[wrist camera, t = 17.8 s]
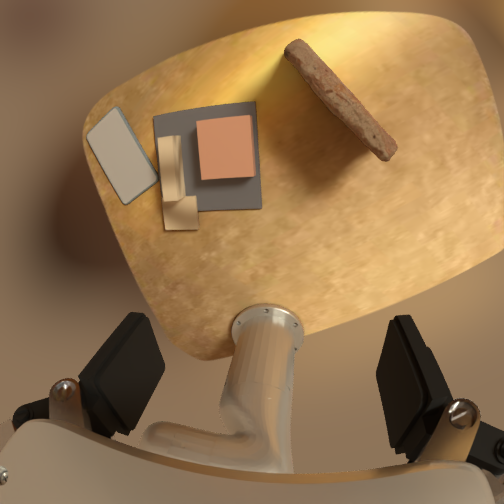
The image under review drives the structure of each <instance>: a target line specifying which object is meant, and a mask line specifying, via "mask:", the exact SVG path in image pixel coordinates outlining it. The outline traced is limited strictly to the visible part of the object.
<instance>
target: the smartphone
mask: <svg viewBox="0 0 504 504" xmlns="http://www.w3.org/2000/svg"><path fill="white" fill-rule="evenodd" d="M87 140H88V142H89V144H90V146H91V148H92V150H93V152H94V154H95V156H96V157H97V159H98V161H99V163H100V165H101V167H102V168H103V170H104V172H105V174H106V175H107V177H108V179H109V181H110V183H111V184H112V186H113V188H114V189H115V191H116V193H117V194H118V196H119V198H120V200H121V201H122V203H123V204H125V205H128V204H129V203H131V202H132V201H133V200H134V199H136V198H137V197H138V196H140V195H141V194H142V193H143V192H145V191H146V190H147V189H149V188H150V187H152V186H153V185H154V184H156V183H157V182H158V181H159V175H158V174H157V172H156V170H155V168H154V167H153V165H152V163H151V162H150V160H149V158H148V157H147V155H146V153H145V151H144V150H143V148H142V146H141V144H140V143H139V141H138V139H137V138H136V136H135V134H134V132H133V131H132V129H131V127H130V125H129V124H128V122H127V120H126V118H125V116H124V115H123V113H122V111H121V109H120V108H119V107H114V108H112V109H111V110H110V111H109V112H108V113H107V114H106V115H105V116H104V117H103V118H102V119H101V120H100V121H99V122H98V123H97V124H96V125H95V126H94V127H93V128H92V129H91V130H90V131H89V132H88V134H87Z"/></svg>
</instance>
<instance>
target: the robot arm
mask: <svg viewBox="0 0 504 504" xmlns="http://www.w3.org/2000/svg"><path fill="white" fill-rule="evenodd" d="M231 333H232V338H233V341H234V343H235V345H236V348H235V351H234V355H233V358H232V362H231V365H230V368H229V372H228V375H227V379H226V382H225V385H224V389H223V392H222V395H221V399H220V403H219V414H220V418H221V421H222V423H223V425H224V427H225V429H226V431H227V432H228V434H229V435H227V434H221V433H220V434H219V433H214V432H209V431H205V430H201V429H196V428H193V427H189V426H185V425H181V424H176V423H172V422H165V421H160V422H155V423H153V424H151V425H149V426H148V427H147V428H146V430H145V431H144V432H143V435H142V436H141V438H140V441H139V445H138V448H135V447H132V446H129V445H126V444H123V443H120V442H118V441H116V440H115V436H114V434H115V432H116V431H117V432H118V433H121V434H124V435H127V436H128V435H129V433H130V431H131V430H134V429H135V427H136V425H137V423H138V421H139V419H140V417H141V415H142V413H143V411H144V409H145V407H146V406H147V404H148V402H149V399H150V398H151V396H152V394H153V392H154V390H155V388H156V386H157V384H158V382H159V380H160V379H161V376H162V375H163V373H164V371H165V363H164V360H163V358H162V355H161V352H160V350H159V347H158V344H157V341H156V338H155V335H154V333H153V330H152V327H151V324H150V321H149V318H148V317H146V316H145V315H144V314H143V313H136V312H130V313H129V314H128V315H127V316H126V318H125V319H124V320H123V321H122V322H121V323H120V325H119V326H118V327H117V328H116V329H115V331H114V332H113V333H112V334H111V335H110V337H109V338H108V339H107V340H106V342H105V343H104V344H103V345H102V346H101V348H100V349H99V350H98V351H97V353H96V354H95V355H94V356H93V358H92V359H91V360H90V362H89V363H88V364H87V366H86V367H85V368H84V369H83V371H82V372H81V373H80V374H79V376H78V377H79V379H80V381H79V383H78V382H77V381H76V380H74V379H72V378H65V379H61V380H59V381H58V382H56V383H55V384H54V385H53V386H52V388H51V389H50V393H49V397H48V398H45V399H42V400H38V401H35V402H32V403H28V404H25V405H23V406H21V407H19V408H18V409H17V410H16V411H15V413H14V415H13V421H12V420H11V419H9V420H7V421H5V422H3V423H2V424H0V504H504V431H502V430H500V429H497V428H495V427H493V426H491V425H489V424H486V423H484V422H482V421H480V419H481V414H480V410H479V408H478V406H477V405H476V404H475V403H474V402H473V401H471V400H469V399H465V398H457V399H455V400H453V398H452V395H451V393H450V390H449V388H448V386H447V383H446V381H445V379H444V376H443V374H442V372H441V370H440V368H439V365H438V363H437V361H436V359H435V357H434V355H433V353H432V351H431V349H430V348H429V347H426V345H425V343H424V341H423V339H422V337H421V335H420V333H419V331H418V329H417V327H416V325H415V323H414V321H413V319H412V317H411V316H410V315H398V316H395V317H394V320H390V322H389V326H388V330H387V334H386V338H385V342H384V345H383V349H382V353H381V356H380V360H379V363H378V367H377V370H376V379H377V383H378V387H379V392H380V396H381V401H382V406H383V410H384V415H385V420H386V425H387V431H388V436H389V442H390V446H391V448H395V453H396V454H401V453H405V454H406V458H407V459H408V460H407V461H406V463H405V464H402V465H395V466H389V467H383V468H376V469H368V470H359V471H348V472H336V473H317V474H294V469H293V461H292V452H291V437H290V436H291V434H290V433H291V432H290V431H291V429H290V428H291V409H292V394H293V375H294V354H295V353H296V352H297V351H298V350H299V348H300V347H301V346H302V343H303V340H304V329H303V325H302V323H301V321H300V320H299V318H298V317H297V316H296V315H295V314H294V313H293V312H291V311H290V310H288V309H286V308H284V307H281V306H278V305H273V304H258V305H254V306H251V307H248V308H246V309H244V310H243V311H242V312H240V313H239V314H238V316H237V317H236V318H235V320H234V322H233V326H232V331H231Z"/></svg>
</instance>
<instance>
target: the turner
mask: <svg viewBox="0 0 504 504" xmlns="http://www.w3.org/2000/svg"><path fill="white" fill-rule="evenodd" d="M158 151H159V162H160V173H161V182H162V191H163V198H161V201H162V208H163V216H164V223H165V230H195V229H200V227H199V218H198V208H197V198H196V196H186V193H185V183H184V172H183V161H182V148H181V136H167V137H160V138H158Z"/></svg>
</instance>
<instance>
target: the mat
mask: <svg viewBox="0 0 504 504" xmlns="http://www.w3.org/2000/svg"><path fill="white" fill-rule="evenodd" d="M244 115H251V116H252V122H253V137H254V151H255V166H256V175H255V176H254V177H235V178H220V179H206V180H202V179H201V169H200V158H199V147H198V136H197V123H196V121H201V120H208V119H216V118H224V117H234V116H244ZM153 118H154V131H155V142H156V153H157V162H158V171H159V180H160V188H161V195H162V198H163V191H162V182H161V173H160V162H159V151H158V138H160V137H167V136H181V148H182V161H183V172H184V183H185V193H186V196H196V198H197V208H198V211H205V210H229V209H262V198H261V180H260V164H259V148H258V132H257V117H256V102H255V101H254V102H242V103H232V104H223V105H215V106H208V107H201V108H195V109H189V110H183V111H177V112H172V113H167V114H162V115H157V116H153Z"/></svg>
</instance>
